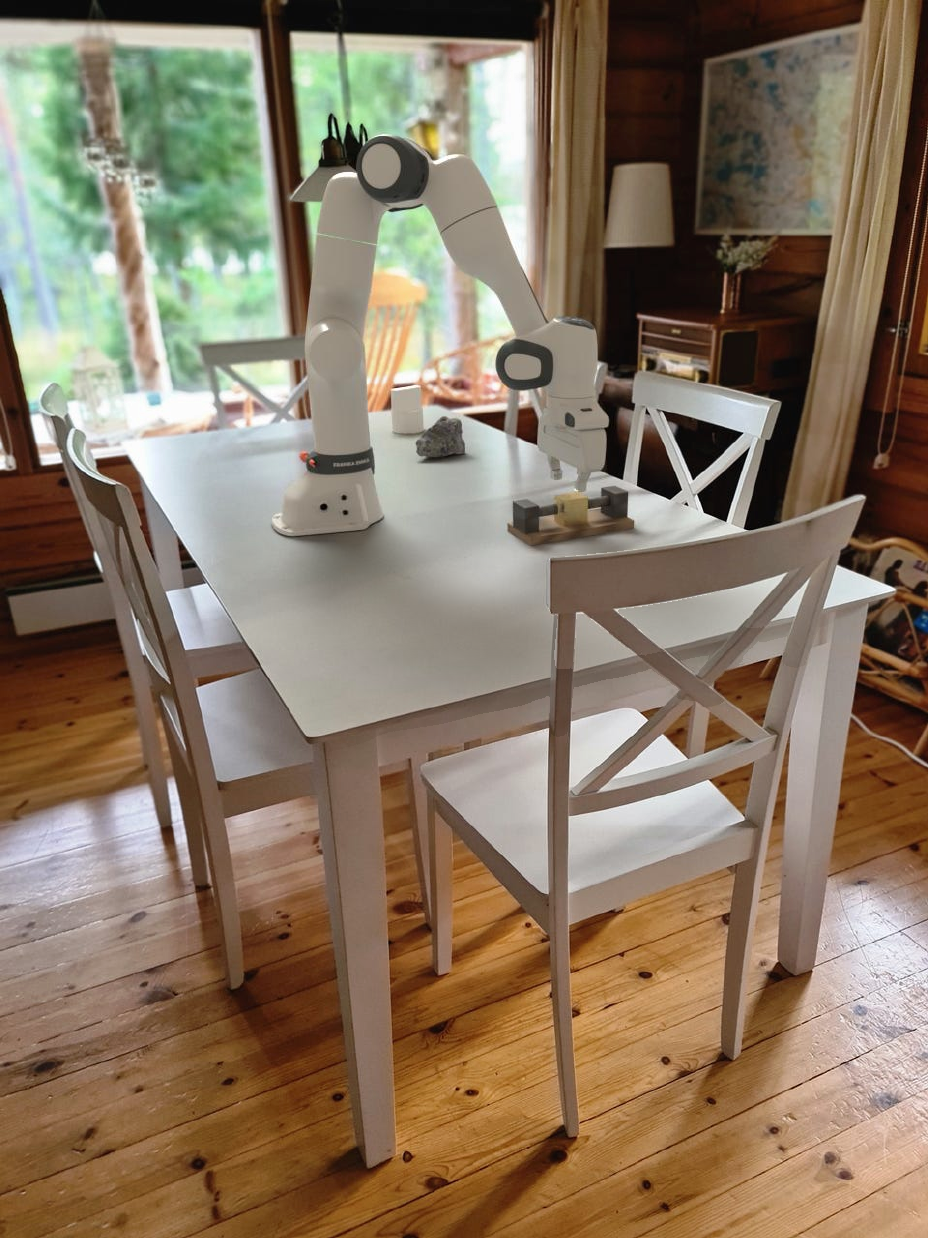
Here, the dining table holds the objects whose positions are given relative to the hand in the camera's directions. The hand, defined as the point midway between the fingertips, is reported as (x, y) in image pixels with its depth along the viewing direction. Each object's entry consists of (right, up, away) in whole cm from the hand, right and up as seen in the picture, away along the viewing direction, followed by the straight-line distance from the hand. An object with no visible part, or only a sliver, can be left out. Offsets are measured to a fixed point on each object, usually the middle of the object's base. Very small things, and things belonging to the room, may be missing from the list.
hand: (567, 485), depth 173 cm
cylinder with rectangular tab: (-35, +29, +92) cm, 103 cm away
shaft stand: (+1, -8, +4) cm, 9 cm away
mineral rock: (-25, +16, +62) cm, 69 cm away
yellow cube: (+1, -6, +3) cm, 7 cm away
